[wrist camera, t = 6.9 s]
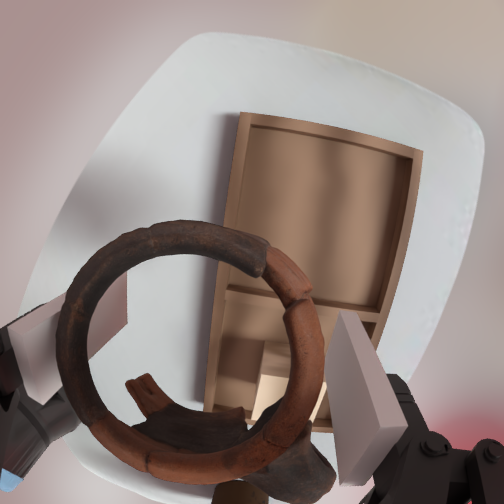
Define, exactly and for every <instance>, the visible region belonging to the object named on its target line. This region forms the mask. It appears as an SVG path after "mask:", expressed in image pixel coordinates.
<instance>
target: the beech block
mask: <svg viewBox="0 0 504 504" xmlns="http://www.w3.org/2000/svg"><path fill="white" fill-rule="evenodd" d="M290 367H291V353H290V345H289V344H284V343H277V342H271V341H265V344H264V349H263V354H262V359H261V363H260V368H259V373H258V378H257V382H256V389H255V396H254V403H253V411H252V418H251V420H256V421H257V420H258V419H259V417H260V416H261V414H262V412H263V411H264V409H266V408H267V407H269V406H271V405H273V404H274V403H276V402H277V401H278V400H279V399H280V398H281V397H283V396H284V394H285V391H286V388H287V384H288V380H289V375H290ZM326 388H327V385H326V379H325V373H324V378H323V385H322V388H321V392H320V394H319V398H318V401H317V403H316V406H315V408H314V410H313V412H312V414H311V416H310V418H309V420H311V421H312V423H313V421H314V419H315V416H316V414H317V411H318V409H319V406H320V404H321V401H322V399H323V396H324V394H325V391H326Z"/></svg>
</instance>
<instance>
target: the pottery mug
mask: <svg viewBox="0 0 504 504" xmlns="http://www.w3.org/2000/svg"><path fill="white" fill-rule="evenodd" d="M176 254H195V255H201V256H206V257H211V258H213V259H216V260H218V261H222V262H225V263H228V264H230V265H232V266H234V267H236V268H238V269H239V270H241V271H242V272H244V273H245V274H247V275H249V276H251V277H253V278H258V277H260V276H261V277H262V278H263V279H264V280H265V282H266V283H267V284H268V285H269V286H270V287H271V288H272V289H273V291H274V292H275V293H276V294H277V296H278V297H279V299H280V301H281V303H282V305H283V307H284V308H285V313H284V314H283V322H284V325H285V329H286V333H287V336H288V340H289V345H290V353H291V367H290V375H289V380H288V384H287V388H286V391H285V394H284V396H283V397H281V398H280V399H279V400H278V401H277V402H276V403H274V404H273V405H271V406H269V407H267V408H266V409H264V411H263V412H262V414H261V416H260V417H259V419H258V420H257V421H256V423H255V424H254V426H253V427H252V428H251V429H249V430H248V428H247V422H246V421H245V417H246V413H245V410H244V408H243V407H242V406H240V407H237V408H234V409H231V410H228V411H222V412H202V411H195V410H191V409H188V408H185V407H183V406H181V405H179V404H177V403H175V402H174V401H173V400H172V399H171V398H169V397H168V396H167V395H166V394H165V393H164V392H163V391H162V390H161V389H160V388H159V386H158V385H157V384H156V382H155V381H154V379H153V378H152V376H151V375H150V374H149V373H146V374H144V375H142V376H140V377H138V378H136V379H135V380H134V379H131V380H128V381H127V382H126V383H125V386H126V388H127V390H128V392H129V393H130V395H131V396H132V397H133V399H134V400H135V402H136V403H137V405H138V407H139V409H140V410H141V412H142V414H143V415H144V416H145V417H146V419H147V420H146V421H145V422H142V423H140V424H136V425H133V426H131V427H130V426H128V425H127V424H125V423H124V422H122V421H120V420H118V419H117V418H116V417H115V416H114V415H113V414H112V413H111V412H110V411H109V410H108V409H107V408H106V406H105V404H104V403H103V401H102V400H101V398H100V396H99V394H98V392H97V390H96V387H95V385H94V382H93V380H92V376H91V373H90V368H89V363H88V354H87V337H88V331H89V326H90V321H91V318H92V315H93V313H94V311H95V309H96V306H97V304H98V302H99V300H100V299H101V298H102V296H103V295H104V293H105V292H106V291H107V289H108V288H109V287H110V286H111V285H112V283H113V282H114V281H115V280H116V279H117V278H118V277H119V276H121V275H122V274H123V273H125V272H126V271H127V270H129V269H130V268H132V267H134V266H136V265H138V264H139V263H141V262H144V261H146V260H149V259H152V258H155V257H158V256H166V255H176ZM312 289H313V287H312V284H311V282H310V281H309V279H308V277H307V276H306V275H305V274H304V273H303V271H302V270H301V269H300V268H299V267H298V266H297V264H296V263H295V262H294V261H293V260H291V259H290V258H289V257H288V256H287V255H286V254H285V253H283V252H282V251H281V250H279V249H277V248H274V247H271V246H270V243H269V242H268V241H267V240H265V239H263V238H261V237H259V236H257V235H253V234H249V233H247V232H243V231H239V230H234V229H231V228H227V227H222V226H218V225H215V224H211V223H207V222H203V221H193V220H175V221H167V222H161V223H156V224H153V225H152V226H150V227H149V228H138V229H136V230H133V231H131V232H127V233H124V234H122V235H121V236H119V237H118V238H117V239H115V240H114V241H112V242H110V243H109V244H107V245H106V246H104V247H102V248H101V249H99V250H98V251H97V252H96V253H95V254H94V255H93V256H92V257H91V258H90V259H89V260H88V262H87V263H86V264H85V265H84V266H83V267H82V268H81V269H80V271H79V272H78V273H77V275H76V276H75V278H74V280H73V282H72V284H71V285H70V287H69V288H68V290H67V292H66V295H65V302H64V303H63V305H62V307H61V311H60V316H59V320H58V327H57V330H56V334H55V337H56V362H57V367H58V371H59V374H60V378H61V382H62V385H63V388H64V391H65V393H66V396H67V398H68V400H69V402H70V404H71V406H72V408H73V409H74V411H75V413H76V415H77V416H78V418H79V419H80V421H81V422H82V423H83V424H85V425H86V426H87V427H88V428H89V430H90V431H91V433H92V435H93V436H94V437H95V438H96V439H97V440H98V441H99V442H100V443H101V444H102V445H103V446H104V447H105V448H106V449H107V450H108V451H110V452H111V453H112V454H114V455H115V456H116V457H117V458H119V459H120V460H122V461H123V462H125V463H127V464H128V465H130V466H131V467H133V468H135V469H137V470H139V471H142V472H149V473H151V475H152V476H154V477H156V478H159V479H162V480H166V481H171V482H178V483H184V484H194V485H197V484H203V485H207V484H216V483H222V482H227V481H230V480H233V479H238V478H240V479H242V480H245V481H247V482H248V483H250V484H252V485H254V486H255V487H257V488H258V489H260V490H261V491H263V492H265V493H266V494H267V495H269V496H270V497H272V498H274V499H276V500H280V501H283V502H287V503H290V504H313V503H315V502H317V501H318V500H319V499H320V498H321V497H322V496H323V495H324V494H326V493H328V492H329V491H330V490H331V488H332V486H333V484H334V482H335V480H336V472H335V470H334V469H333V467H332V466H331V464H330V463H329V462H328V460H327V459H326V458H325V457H324V456H323V455H322V454H321V453H320V452H319V451H318V449H317V448H316V447H315V446H314V445H313V444H312V443H311V441H310V438H311V431H312V421H311V420H309V418H310V416H311V414H312V412H313V410H314V408H315V406H316V403H317V401H318V398H319V394H320V392H321V388H322V385H323V378H324V366H325V356H324V346H325V341H324V336H323V334H322V331H321V325H320V321H319V318H318V314H317V311H316V308H315V305H314V303H313V301H312V298H311V297H310V295H309V294H308V293H310V292H311V291H312Z"/></svg>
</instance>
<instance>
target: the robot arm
mask: <svg viewBox="0 0 504 504" xmlns="http://www.w3.org/2000/svg"><path fill="white" fill-rule="evenodd" d="M65 295H66V292H65V293H64V294H62V295H60V296H58V297H57V298H55V299H53V300H51V301H50V302H48V303H45V304H42V305H39V306H37V307H36V308H34V309H32V310H31V312H30V311H29V312H27V313H25V314H24V316H20V317H19V318H17V319H16V320H14V321H12V322H11V323H9V324H7V325H6V326H4V327H2V328H1V329H0V490H2V491H5V492H11V491H12V490H13V489H14V488H15V487H16V486H17V485H18V484H19V483H20V482H21V481H23V480H24V479H23V478H24V477H25V476H26V474H27V473H28V472H29V470H30V469H31V468H32V467H33V465H34V464H35V463H36V461H37V460H38V459H39V458H40V456H41V455H42V454H43V452H44V451H45V450H46V449H47V447H48V446H49V444H50V443H52V442H53V441H55V440H57V439H59V438H60V437H62V436H64V435H66V434H67V433H69V432H72V431H74V430H75V429H76V428H77V427H78V425H79V424H80V423H81V421H80V419H79V418H78V416H77V415H76V413H75V411H74V409H73V408H72V406H71V404H70V402H69V400H68V398H67V396H66V393H65V391H64V388H63V385H62V382H61V378H60V374H59V371H58V367H57V362H56V337H55V334H56V330H57V327H58V320H59V316H60V311H61V307H62V305H63V303H64V302H65ZM127 323H128V322H127V271H126V272H125V273H123V274H122V275H121V276H119V277H118V278H117V279H116V280H115V281H114V282H113V283H112V285H111V286H110V287H109V288H108V289H107V291H106V292H105V293H104V295H103V296H102V298H101V299H100V300H99V302H98V304H97V306H96V309H95V311H94V313H93V315H92V318H91V321H90V326H89V331H88V337H87V354H88V360H89V359H90V358H91V357H93V356H94V355H95V354H96V353H97V352H98V351H99V350H100V349H101V348H102V347H103V346H104V345H105V344H106V343H107V342H108V341H109V340H110V339H111V338H112V337H113V336H115V335H116V334H117V333H118V332H119V331H120V330H121V329H122V328H123V327H124V326H125V325H126V324H127ZM324 373H325V379H326V385H327V392H328V398H329V405H330V411H331V418H332V426H333V433H334V440H335V448H336V456H337V465H338V474H339V483H340V486H363V485H365V484H366V483H367V481H368V480H369V479H370V478H371V477H372V475H373V479H374V484H375V486H374V487H373V488H372V489H371V490H370V492H369V493H368V494H367V495H366V496H365V497H364V498H363V499H362V500H361V501H360V503H359V504H363V503H364V502H365V503H364V504H468V503H469V502H470V501H472V504H504V446H503V445H502V444H501V443H500V442H498V441H496V440H493V439H483V440H481V441H479V442H478V443H477V445H476V446H475V447H474V448H473V449H472V451H469V450H460V449H453V448H452V446H451V445H450V443H449V441H448V440H447V439H446V438H445V437H444V436H442V435H441V434H439V433H436V432H433V431H429V429H428V427H427V425H426V423H425V421H424V418H423V416H422V414H421V412H420V410H419V408H418V406H417V404H416V403H415V400H414V398H413V396H412V395H411V392H410V390H409V388H408V386H407V384H406V383H405V382H404V381H403V380H402V379H401V378H400V377H399V376H398V375H397V374H386V373H385V371H384V369H383V366H382V364H381V362H380V360H379V358H378V356H377V354H376V351H375V349H374V347H373V345H372V343H371V341H370V339H369V337H368V335H367V333H366V331H365V329H364V327H363V325H362V323H361V321H360V319H359V317H358V315H357V313H356V312H350V311H343V310H339V313H338V317H337V320H336V324H335V327H334V331H333V334H332V337H331V340H330V344H329V347H328V350H327V353H326V356H325V366H324Z"/></svg>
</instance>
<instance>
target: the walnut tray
mask: <svg viewBox="0 0 504 504" xmlns="http://www.w3.org/2000/svg"><path fill="white" fill-rule="evenodd" d="M422 159H423V151H421V150H418V149H415V148H412V147H409V146H406V145H403V144H399V143H396V142H393V141H389V140H386V139H382V138H378V137H375V136H371V135H367V134H363V133H359V132H355V131H351V130H347V129H342V128H338V127H333V126H329V125H324V124H319V123H313V122H308V121H303V120H297V119H291V118H285V117H278V116H271V115H264V114H256V113H247V112H240V117H239V123H238V129H237V135H236V141H235V148H234V154H233V161H232V167H231V174H230V181H229V187H228V194H227V201H226V208H225V216H224V223H223V227H227V228H231V229H234V230H239V231H243V232H247V233H249V234H253V235H257V236H259V237H261V238H263V239H265V240H267V241H268V242H269V243H270V246H271V247H274V248H277V249H279V250H281V251H282V252H283V253H285V254H286V255H287V256H288V257H289V258H290V259H291V260H293V261H294V262H295V263H296V264H297V266H298V267H299V268H300V269H301V270H302V271H303V273H304V274H305V275H306V276H307V277H308V279H309V281H310V282H311V284H312V287H313V289H312V291H311V292H310V293H308V294H309V295H310V297H311V298H312V301H313V303H314V305H315V308H316V311H317V314H318V318H319V321H320V325H321V331H322V334H323V336H324V341H325V346H324V356H326V353H327V350H328V347H329V344H330V340H331V337H332V334H333V331H334V327H335V324H336V320H337V317H338V313H339V310H343V311H350V312H356V313H357V315H358V317H359V319H360V321H361V323H362V325H363V327H364V329H365V331H366V333H367V335H368V337H369V339H370V341H371V343H372V345H373V347H374V349H375V351H376V349H377V347H378V344H379V341H380V338H381V336H382V333H383V330H384V327H385V324H386V321H387V318H388V315H389V312H390V309H391V306H392V302H393V299H394V296H395V292H396V289H397V285H398V282H399V278H400V275H401V271H402V267H403V263H404V259H405V255H406V251H407V246H408V242H409V238H410V233H411V228H412V223H413V218H414V213H415V207H416V201H417V195H418V189H419V182H420V175H421V168H422ZM284 313H285V308H284V307H283V305H282V303H281V301H280V299H279V297H278V296H277V294H276V293H275V292H274V291H273V289H272V288H271V287H270V286H269V285H268V284H267V283H266V282H265V280H264V279H263V278H262V277H261V276H260V277H258V278H253V277H251V276H249V275H247V274H245V273H244V272H242V271H241V270H239V269H238V268H236V267H234V266H232V265H230V264H228V263H225V262H222V261H219V262H218V270H217V278H216V286H215V295H214V304H213V313H212V322H211V331H210V341H209V351H208V361H207V372H206V383H205V395H204V407H203V412H222V411H228V410H231V409H234V408H237V407H240V406H242V407H243V408H244V410H245V413H246V417H245V421H246V422H247V424H249V425H254V424H255V423H256V420H251V418H252V411H253V403H254V396H255V389H256V382H257V378H258V373H259V368H260V363H261V359H262V354H263V349H264V344H265V341H271V342H277V343H284V344H289V340H288V336H287V333H286V329H285V325H284V322H283V314H284ZM311 432H323V433H333V426H332V418H331V411H330V405H329V398H328V392H327V388H326V391H325V394H324V396H323V399H322V401H321V404H320V406H319V409H318V411H317V414H316V416H315V419H314V421H313V423H312V431H311Z"/></svg>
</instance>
